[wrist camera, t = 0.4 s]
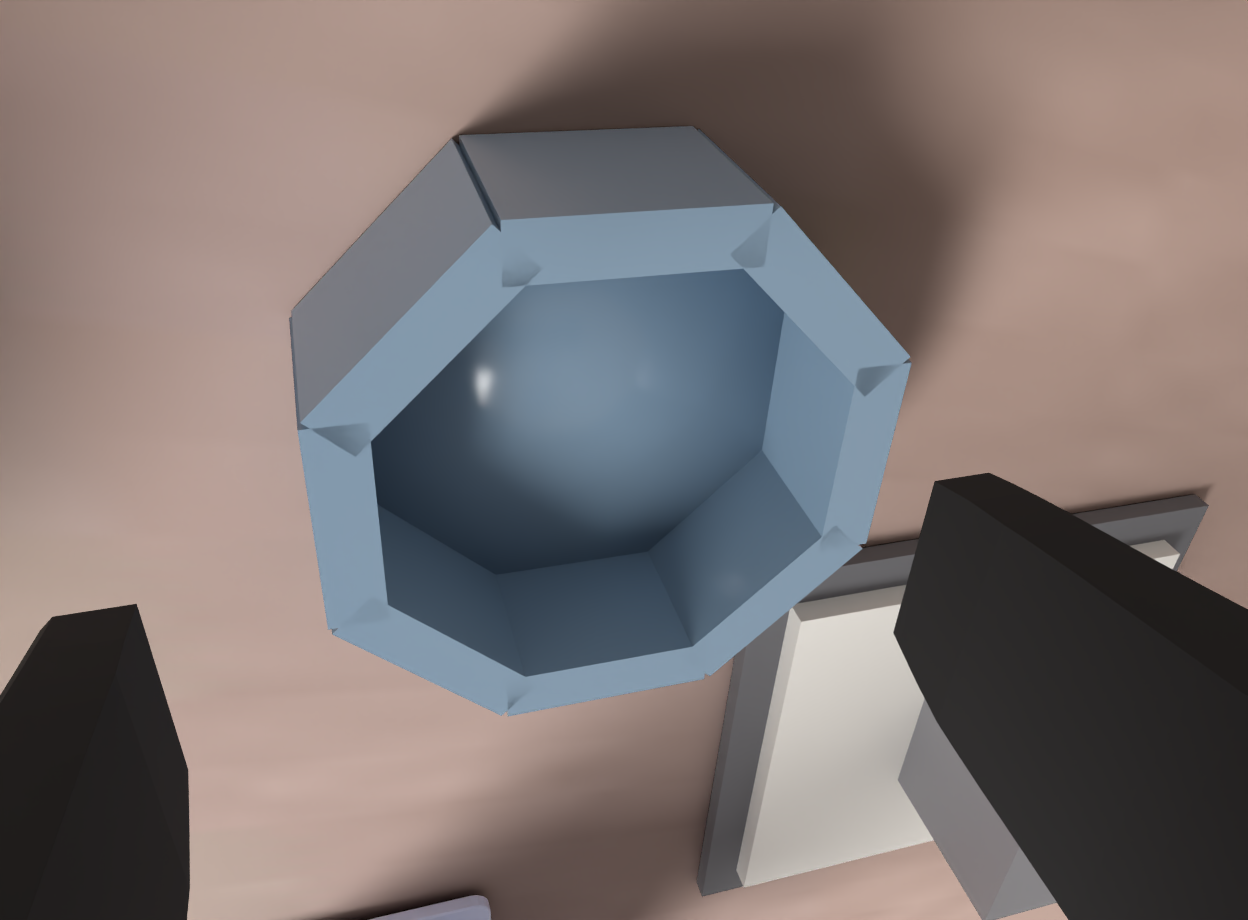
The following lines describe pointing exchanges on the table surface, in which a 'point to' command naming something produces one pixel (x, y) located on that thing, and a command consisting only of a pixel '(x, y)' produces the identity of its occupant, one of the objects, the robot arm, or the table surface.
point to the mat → (857, 575)
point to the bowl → (584, 417)
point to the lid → (873, 761)
